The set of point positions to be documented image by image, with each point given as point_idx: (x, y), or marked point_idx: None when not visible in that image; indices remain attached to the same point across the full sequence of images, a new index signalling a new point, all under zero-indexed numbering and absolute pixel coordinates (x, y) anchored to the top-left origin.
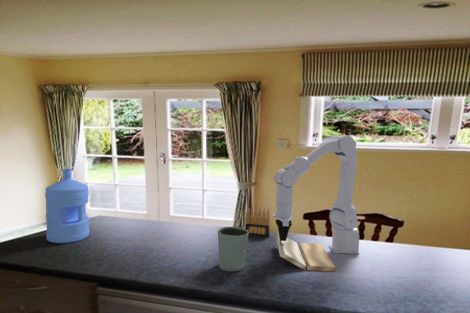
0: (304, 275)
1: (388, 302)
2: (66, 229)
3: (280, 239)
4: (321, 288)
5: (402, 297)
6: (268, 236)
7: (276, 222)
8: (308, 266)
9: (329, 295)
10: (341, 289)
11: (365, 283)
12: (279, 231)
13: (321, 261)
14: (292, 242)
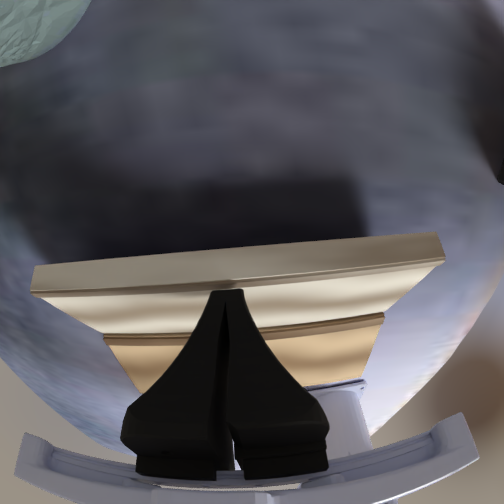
0: None
1: (56, 403)
2: None
3: (209, 299)
4: (23, 333)
5: (87, 421)
6: (501, 179)
7: (126, 432)
8: (106, 337)
9: (9, 339)
10: (48, 365)
11: (107, 405)
12: (182, 353)
13: None
14: (360, 306)
